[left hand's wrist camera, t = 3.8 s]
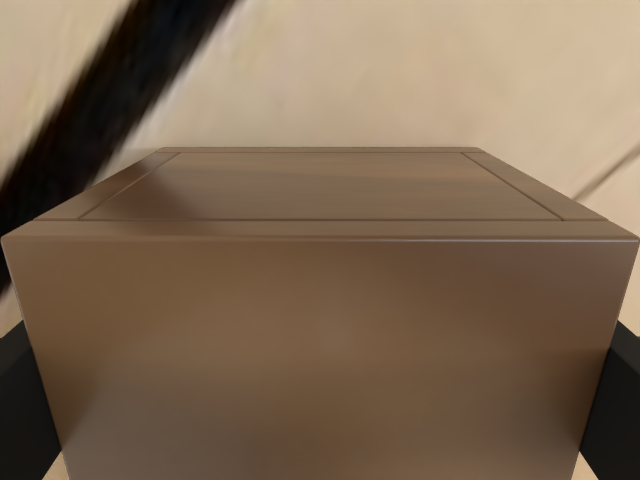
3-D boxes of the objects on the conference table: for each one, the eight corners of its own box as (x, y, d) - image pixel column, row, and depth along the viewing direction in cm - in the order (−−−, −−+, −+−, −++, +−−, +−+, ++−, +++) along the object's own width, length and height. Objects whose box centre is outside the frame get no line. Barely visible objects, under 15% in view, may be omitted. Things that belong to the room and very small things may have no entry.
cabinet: (428, 524, 23) (487, 773, 15) (211, 524, 23) (153, 772, 15) (479, 147, 16) (644, 237, 8) (161, 147, 16) (-4, 237, 8)
